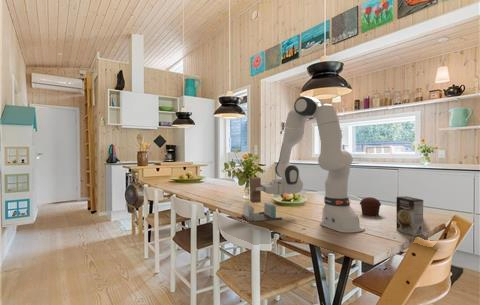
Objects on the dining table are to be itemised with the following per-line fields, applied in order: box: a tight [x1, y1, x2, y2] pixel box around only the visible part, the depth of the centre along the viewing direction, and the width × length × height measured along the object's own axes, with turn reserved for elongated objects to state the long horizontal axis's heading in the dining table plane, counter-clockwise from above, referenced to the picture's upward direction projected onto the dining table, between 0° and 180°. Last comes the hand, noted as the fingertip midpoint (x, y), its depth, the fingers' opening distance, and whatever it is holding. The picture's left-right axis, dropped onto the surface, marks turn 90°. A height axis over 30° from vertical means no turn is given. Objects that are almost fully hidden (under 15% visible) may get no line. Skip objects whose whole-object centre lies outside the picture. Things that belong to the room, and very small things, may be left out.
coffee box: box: [396, 195, 424, 237], centre depth 124 cm, size 9×6×16 cm
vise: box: [241, 203, 283, 223], centre depth 156 cm, size 16×20×7 cm
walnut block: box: [249, 176, 262, 204], centre depth 155 cm, size 5×5×14 cm
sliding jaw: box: [263, 202, 277, 218], centre depth 157 cm, size 12×3×6 cm, turn 14°
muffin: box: [359, 196, 382, 217], centre depth 158 cm, size 12×11×10 cm
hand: (253, 188), depth 155 cm, fingers closed on walnut block, 5 cm apart
